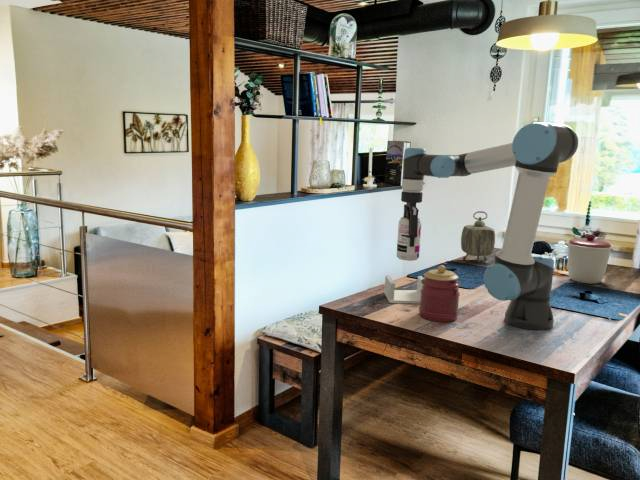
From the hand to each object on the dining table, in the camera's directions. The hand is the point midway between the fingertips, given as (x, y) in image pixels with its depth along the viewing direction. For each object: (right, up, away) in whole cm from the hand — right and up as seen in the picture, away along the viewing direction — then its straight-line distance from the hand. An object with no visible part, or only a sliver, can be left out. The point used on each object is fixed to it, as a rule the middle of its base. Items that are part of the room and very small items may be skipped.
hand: (408, 252), depth 205 cm
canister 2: (+83, -13, +38) cm, 92 cm away
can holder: (0, -17, +3) cm, 17 cm away
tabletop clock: (+45, -6, +69) cm, 82 cm away
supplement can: (0, -2, +1) cm, 2 cm away
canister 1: (+7, -21, -17) cm, 28 cm away
